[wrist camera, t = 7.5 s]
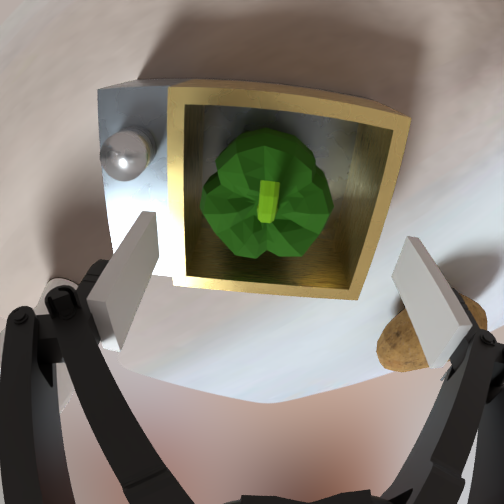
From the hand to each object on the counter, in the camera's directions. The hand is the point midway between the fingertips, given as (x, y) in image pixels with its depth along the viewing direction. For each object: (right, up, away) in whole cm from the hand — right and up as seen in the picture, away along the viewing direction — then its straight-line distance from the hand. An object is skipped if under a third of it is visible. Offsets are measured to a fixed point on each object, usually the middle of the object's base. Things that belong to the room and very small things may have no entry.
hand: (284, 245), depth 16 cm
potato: (+19, -7, +19) cm, 28 cm away
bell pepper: (0, +6, +9) cm, 11 cm away
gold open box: (-2, +7, +10) cm, 12 cm away
